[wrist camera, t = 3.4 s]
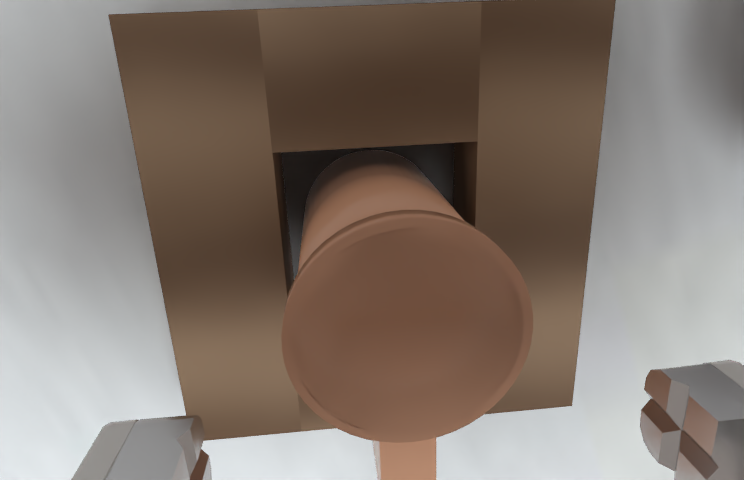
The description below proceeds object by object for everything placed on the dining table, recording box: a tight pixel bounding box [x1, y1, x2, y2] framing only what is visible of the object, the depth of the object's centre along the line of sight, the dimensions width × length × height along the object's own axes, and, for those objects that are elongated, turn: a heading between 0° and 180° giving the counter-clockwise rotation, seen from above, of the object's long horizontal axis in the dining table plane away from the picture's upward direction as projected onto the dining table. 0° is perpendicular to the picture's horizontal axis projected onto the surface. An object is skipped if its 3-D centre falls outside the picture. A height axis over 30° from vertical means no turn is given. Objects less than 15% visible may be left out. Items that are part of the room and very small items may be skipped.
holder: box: [109, 0, 616, 441], centre depth 18 cm, size 14×14×3 cm
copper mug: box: [281, 150, 533, 480], centre depth 16 cm, size 8×5×9 cm, turn 2°
